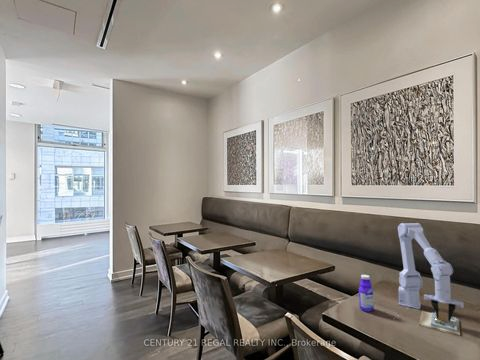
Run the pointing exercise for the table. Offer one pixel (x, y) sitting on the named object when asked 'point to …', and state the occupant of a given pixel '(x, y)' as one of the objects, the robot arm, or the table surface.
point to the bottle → (366, 294)
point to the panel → (451, 323)
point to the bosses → (437, 319)
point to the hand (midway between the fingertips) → (443, 318)
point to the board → (426, 322)
